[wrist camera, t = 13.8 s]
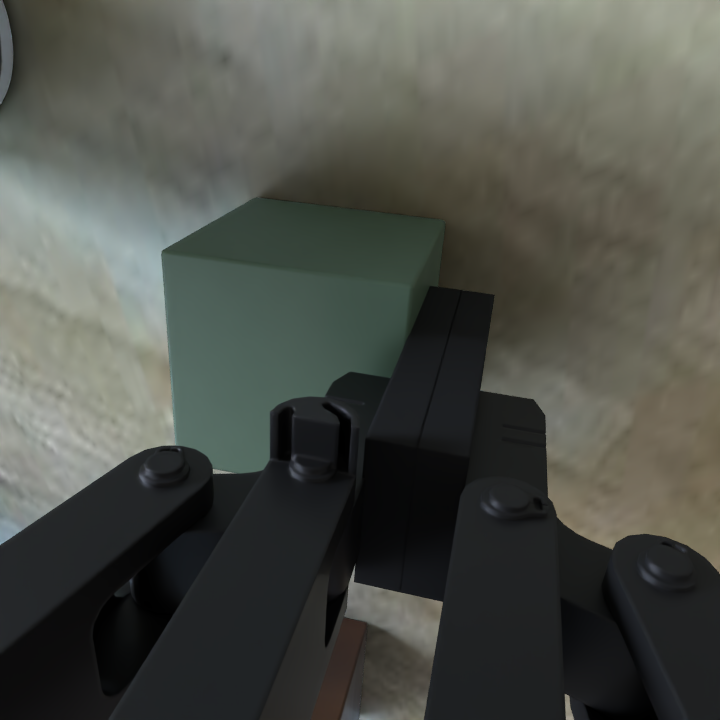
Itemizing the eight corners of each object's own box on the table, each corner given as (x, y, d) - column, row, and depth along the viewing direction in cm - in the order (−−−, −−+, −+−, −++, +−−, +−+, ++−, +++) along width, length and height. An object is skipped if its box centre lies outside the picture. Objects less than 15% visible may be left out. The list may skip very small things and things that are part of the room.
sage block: (446, 219, 16) (413, 285, 12) (424, 396, 19) (390, 506, 14) (254, 196, 17) (158, 249, 13) (255, 367, 19) (174, 462, 15)
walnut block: (368, 621, 23) (328, 759, 18) (359, 716, 25) (322, 860, 21) (232, 589, 24) (163, 714, 19) (235, 684, 26) (174, 815, 22)
